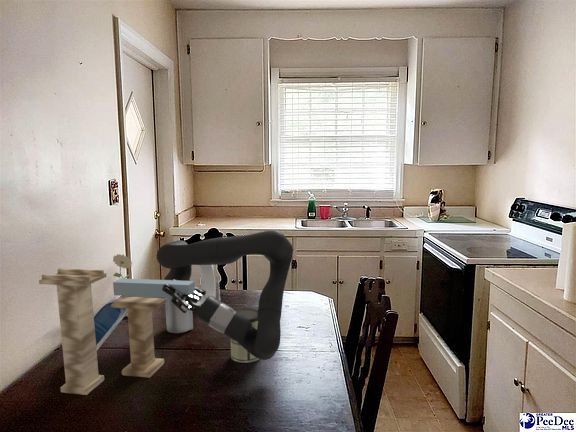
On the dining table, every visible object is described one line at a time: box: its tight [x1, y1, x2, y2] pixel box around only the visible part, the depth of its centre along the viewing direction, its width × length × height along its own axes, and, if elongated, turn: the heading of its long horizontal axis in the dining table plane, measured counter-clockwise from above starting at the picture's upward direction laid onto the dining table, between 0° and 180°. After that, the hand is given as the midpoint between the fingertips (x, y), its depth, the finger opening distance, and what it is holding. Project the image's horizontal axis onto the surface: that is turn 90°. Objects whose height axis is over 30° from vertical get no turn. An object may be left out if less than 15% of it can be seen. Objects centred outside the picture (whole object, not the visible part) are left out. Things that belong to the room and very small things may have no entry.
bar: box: [112, 277, 196, 299], centre depth 128 cm, size 24×4×4 cm, turn 78°
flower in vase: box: [112, 253, 133, 317], centre depth 179 cm, size 13×11×25 cm
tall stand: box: [38, 267, 108, 396], centre depth 121 cm, size 14×9×33 cm, turn 78°
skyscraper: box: [199, 265, 222, 301], centre depth 189 cm, size 8×8×28 cm
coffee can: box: [229, 308, 260, 364], centre depth 140 cm, size 10×10×14 cm
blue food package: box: [94, 296, 132, 351], centre depth 139 cm, size 6×12×25 cm
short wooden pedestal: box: [111, 296, 166, 379], centre depth 131 cm, size 14×9×22 cm, turn 78°
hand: (167, 284), depth 127 cm, fingers closed on bar, 4 cm apart
